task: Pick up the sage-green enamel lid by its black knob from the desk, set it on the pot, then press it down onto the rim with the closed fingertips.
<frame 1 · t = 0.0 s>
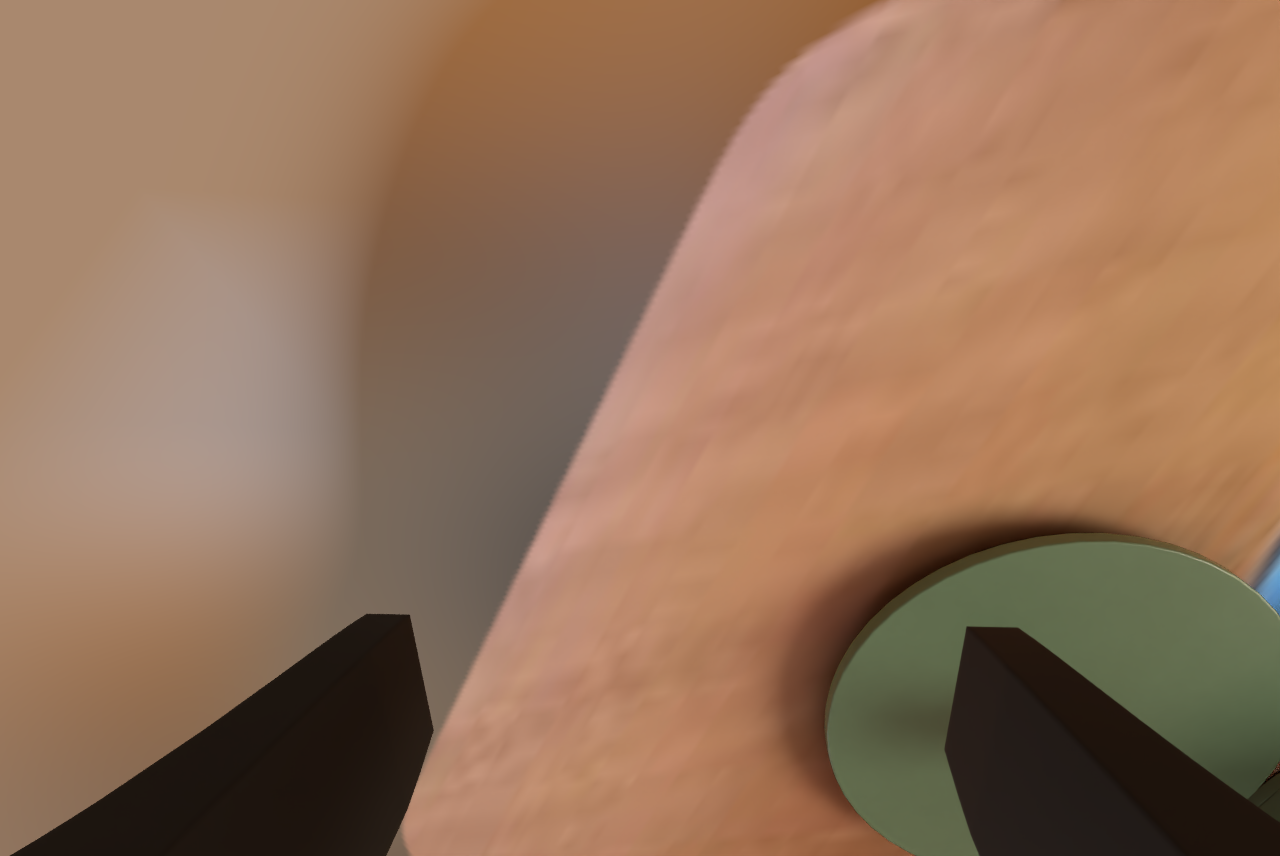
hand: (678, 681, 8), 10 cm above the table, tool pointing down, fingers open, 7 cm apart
lid: (1044, 719, 20), point 1 cm above the table
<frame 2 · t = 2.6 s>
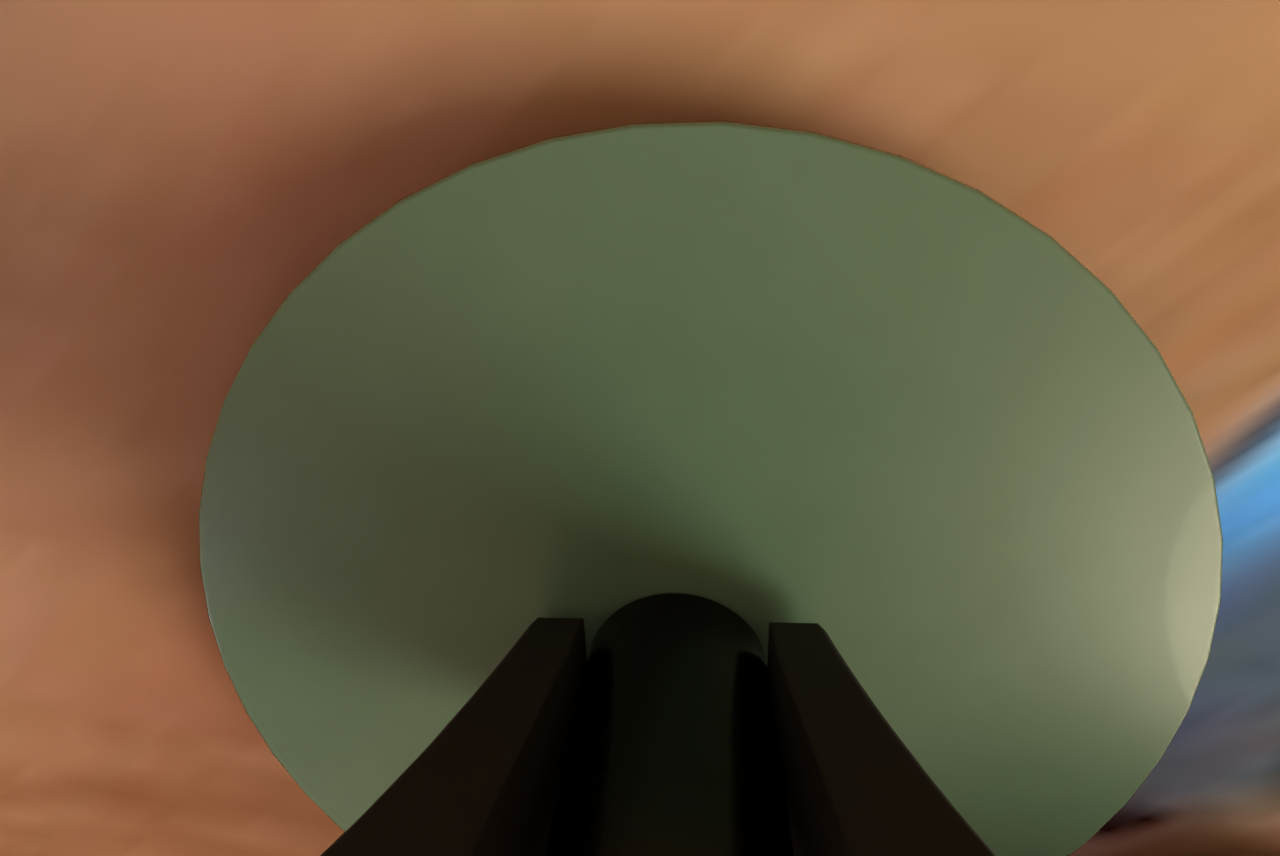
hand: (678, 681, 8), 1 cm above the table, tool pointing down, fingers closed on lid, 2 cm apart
lid: (678, 639, 9), point 1 cm above the table, touching gripper
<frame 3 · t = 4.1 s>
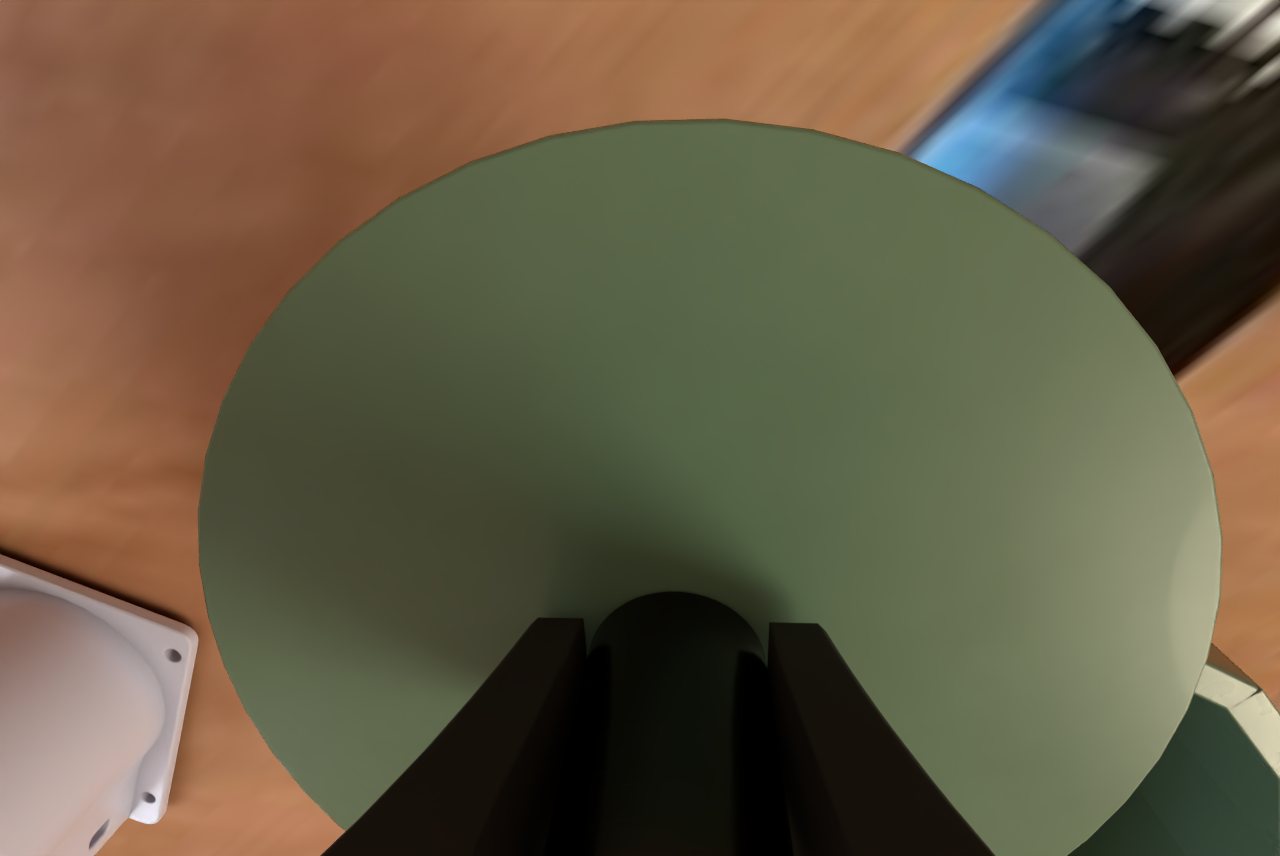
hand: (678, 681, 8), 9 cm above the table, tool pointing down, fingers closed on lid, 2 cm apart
lid: (677, 637, 9), point 8 cm above the table, touching gripper
pot: (910, 678, 19), on the table
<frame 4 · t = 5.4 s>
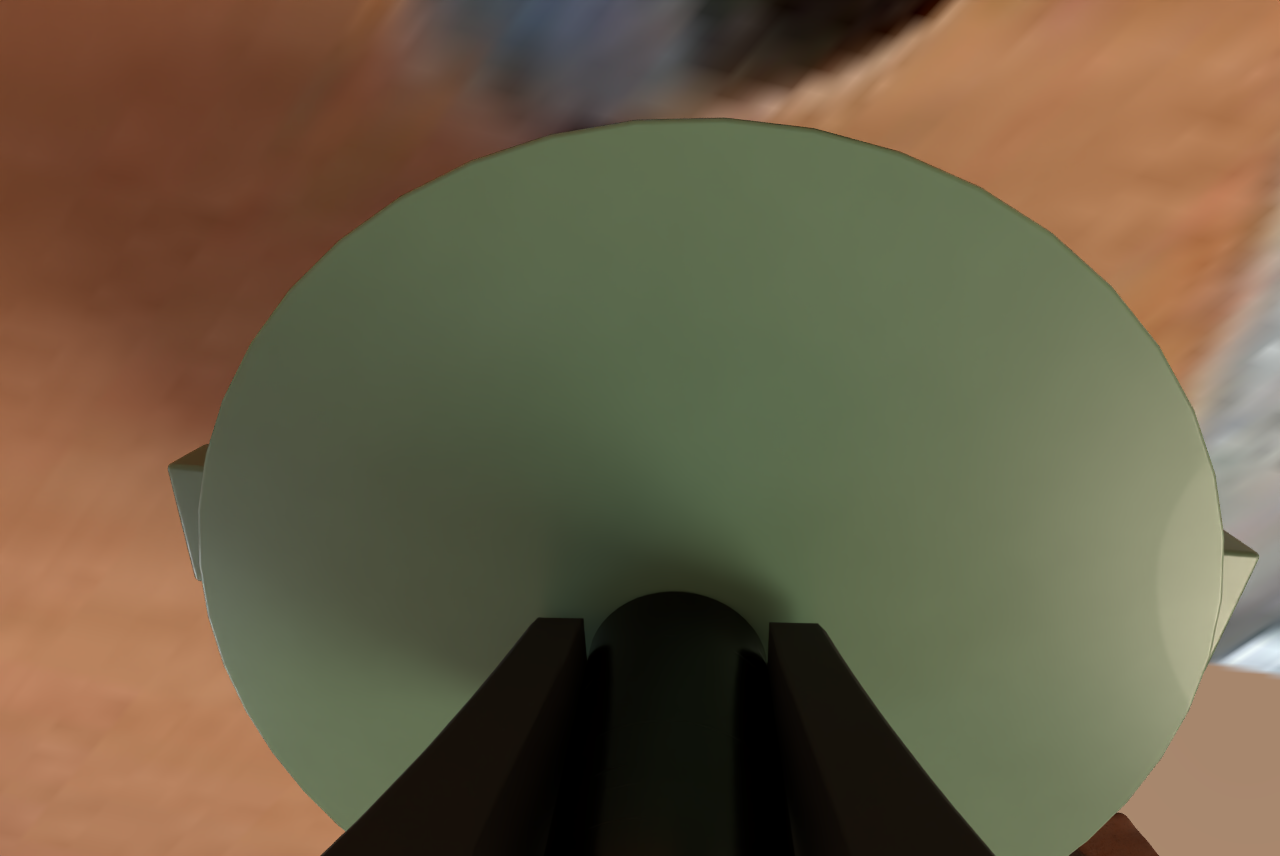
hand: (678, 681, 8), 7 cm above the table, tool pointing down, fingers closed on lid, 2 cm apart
lid: (678, 637, 9), point 6 cm above the table, touching gripper
pot: (685, 455, 15), on the table
when the fingers open (6 cm above the table, at t = 6.0 s): lid stays where it is, resting on pot.
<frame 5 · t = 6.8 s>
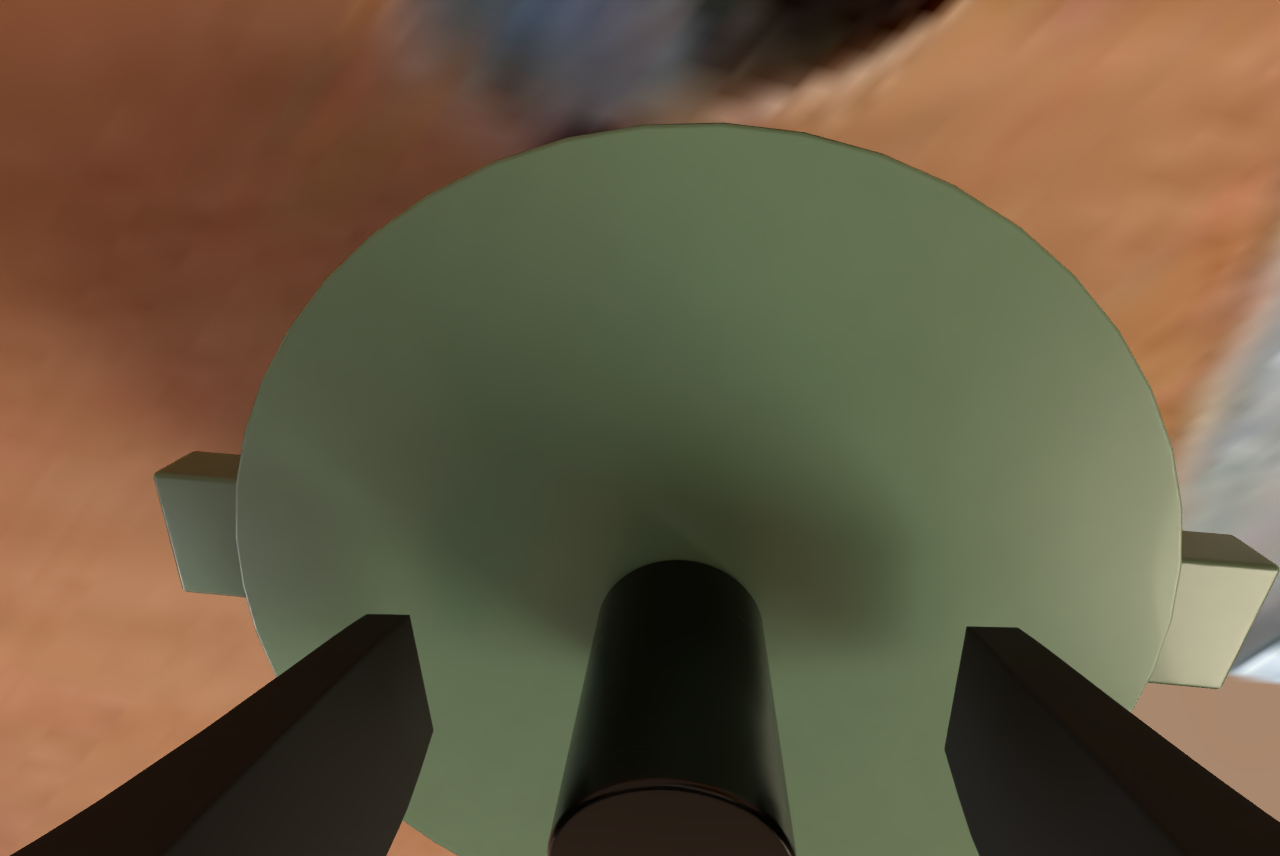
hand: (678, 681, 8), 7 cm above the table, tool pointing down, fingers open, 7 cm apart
lid: (680, 605, 10), point 5 cm above the table, touching pot
pot: (686, 461, 15), on the table
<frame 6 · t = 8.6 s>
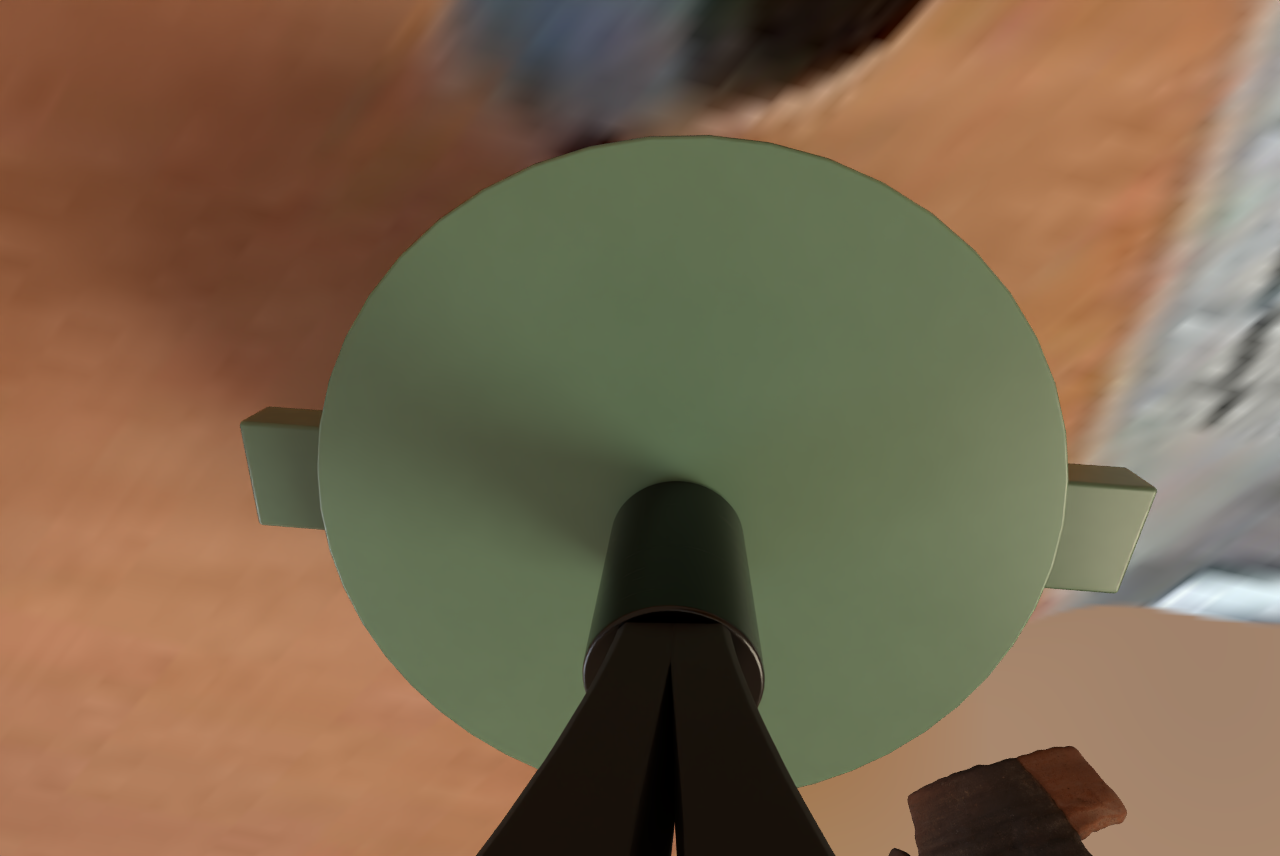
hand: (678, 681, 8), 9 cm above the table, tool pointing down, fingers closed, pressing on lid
pottery mug: (983, 841, 22), on the table
lid: (677, 524, 12), point 5 cm above the table, touching gripper, pot
pot: (681, 423, 17), on the table
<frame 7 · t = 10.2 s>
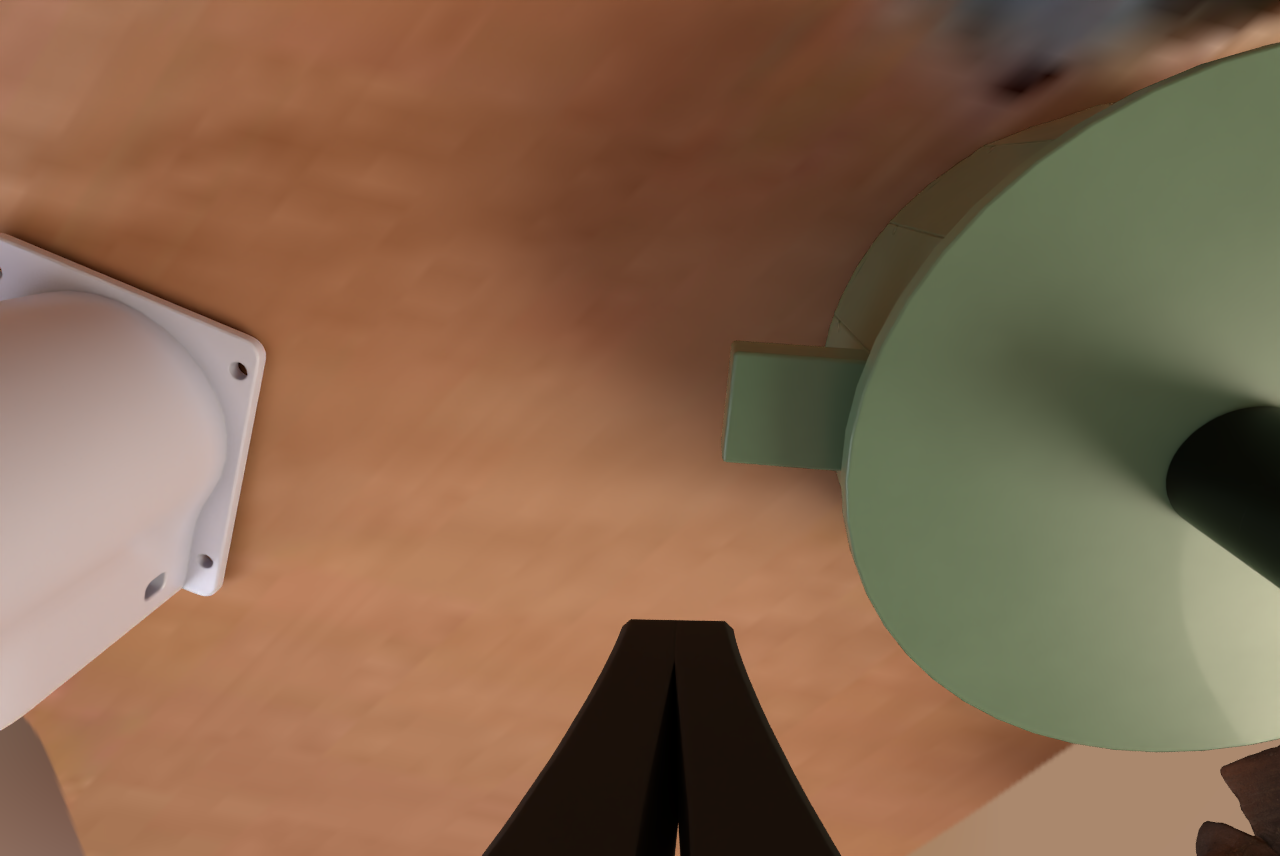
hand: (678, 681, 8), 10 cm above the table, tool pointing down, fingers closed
lid: (1217, 457, 12), point 5 cm above the table, touching pot
pot: (1063, 373, 17), on the table
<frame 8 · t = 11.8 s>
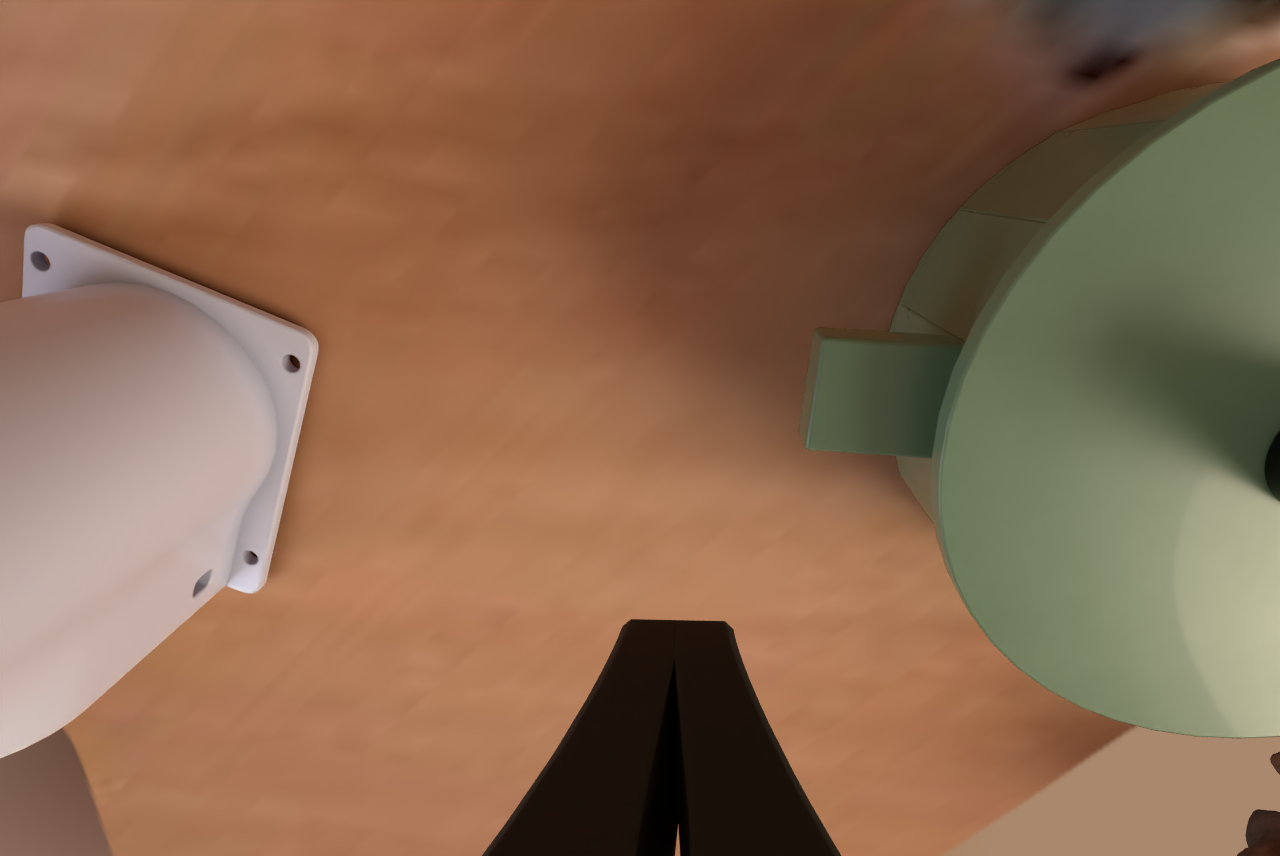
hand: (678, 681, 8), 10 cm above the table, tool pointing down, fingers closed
pot: (1127, 361, 17), on the table
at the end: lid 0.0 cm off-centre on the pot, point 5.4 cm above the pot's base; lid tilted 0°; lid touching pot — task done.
